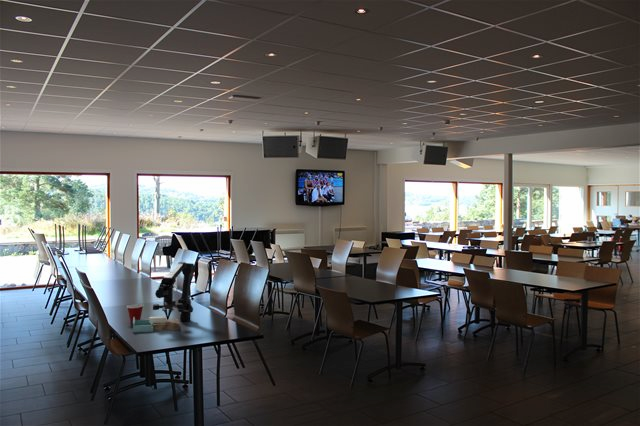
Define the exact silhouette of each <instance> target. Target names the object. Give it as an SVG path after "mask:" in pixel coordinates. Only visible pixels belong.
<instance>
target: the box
mask: <svg viewBox="0 0 640 426" xmlns="http://www.w3.org/2000/svg"><path fill="white" fill-rule="evenodd" d="M152 332H154V331H153V323H149V318H148V319H140V320H135V317H133V324H132V333H133V334H134V333H152Z"/></svg>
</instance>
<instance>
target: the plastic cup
mask: <svg viewBox="0 0 640 426" xmlns="http://www.w3.org/2000/svg"><path fill="white" fill-rule="evenodd" d="M144 306H145V305H144V304H141V303H136V304H135V303H134V304H129V305H127V306H126V308H127V310H128V311H127V312H128V317H129V322H130V324H132V325H133V317H135V320H142V319H141V318H142V313H143V308H144Z"/></svg>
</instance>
